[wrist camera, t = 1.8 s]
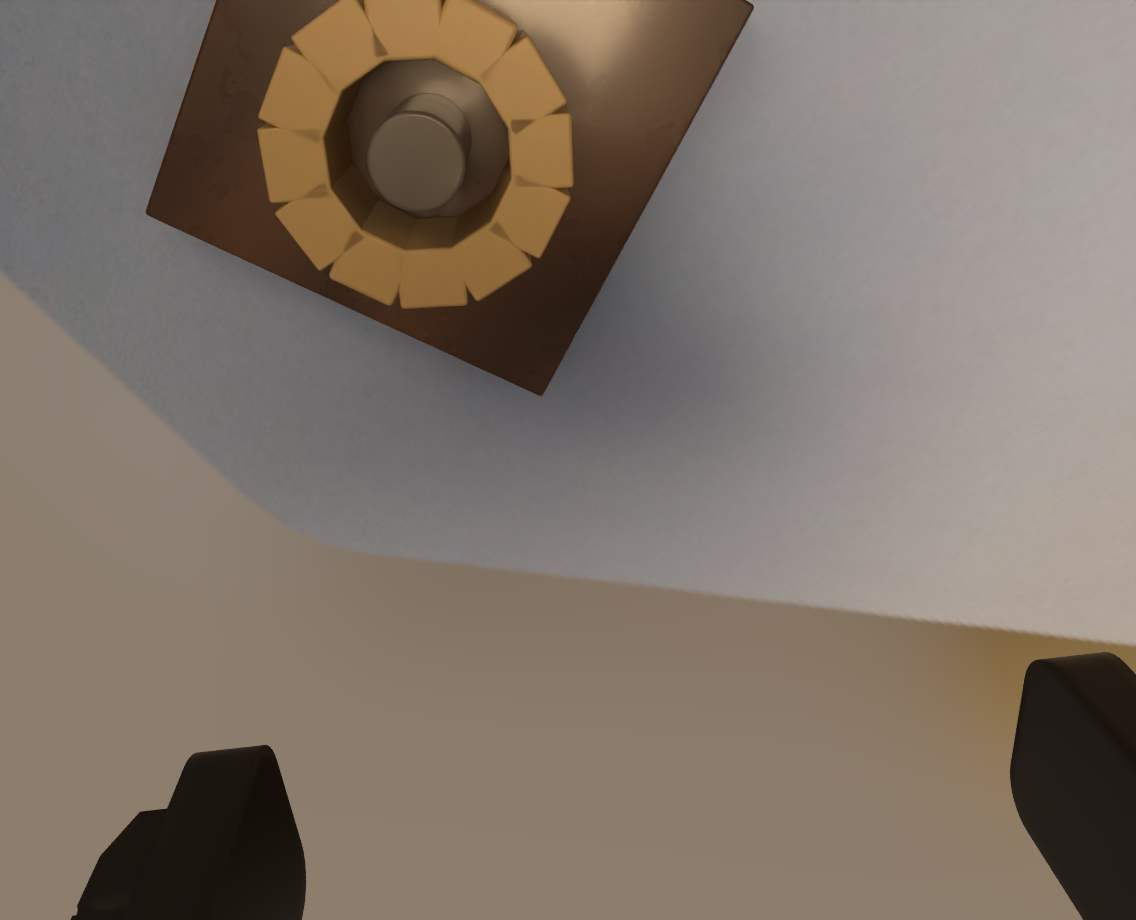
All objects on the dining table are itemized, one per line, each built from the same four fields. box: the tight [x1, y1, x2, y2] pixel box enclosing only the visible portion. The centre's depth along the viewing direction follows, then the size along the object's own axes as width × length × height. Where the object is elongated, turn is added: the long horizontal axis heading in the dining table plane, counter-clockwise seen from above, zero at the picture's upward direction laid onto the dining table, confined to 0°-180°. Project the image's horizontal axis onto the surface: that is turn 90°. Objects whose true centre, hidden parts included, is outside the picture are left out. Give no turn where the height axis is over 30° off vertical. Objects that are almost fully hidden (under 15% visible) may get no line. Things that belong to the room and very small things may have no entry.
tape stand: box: [146, 0, 754, 396], centre depth 22 cm, size 12×12×10 cm
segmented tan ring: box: [257, 0, 574, 309], centre depth 19 cm, size 6×6×3 cm
